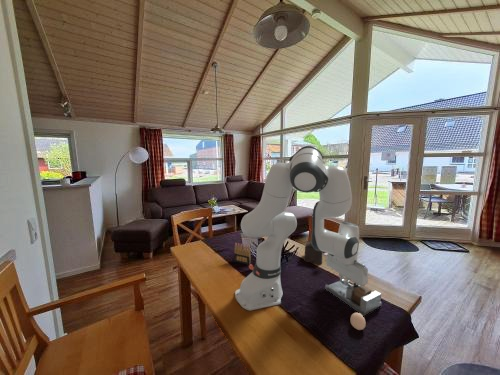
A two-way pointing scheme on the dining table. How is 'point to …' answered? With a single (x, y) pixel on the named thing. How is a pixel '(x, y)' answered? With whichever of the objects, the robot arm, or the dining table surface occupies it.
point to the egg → (358, 321)
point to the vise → (365, 306)
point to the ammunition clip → (242, 254)
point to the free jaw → (351, 291)
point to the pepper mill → (312, 254)
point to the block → (360, 293)
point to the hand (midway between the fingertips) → (344, 283)
